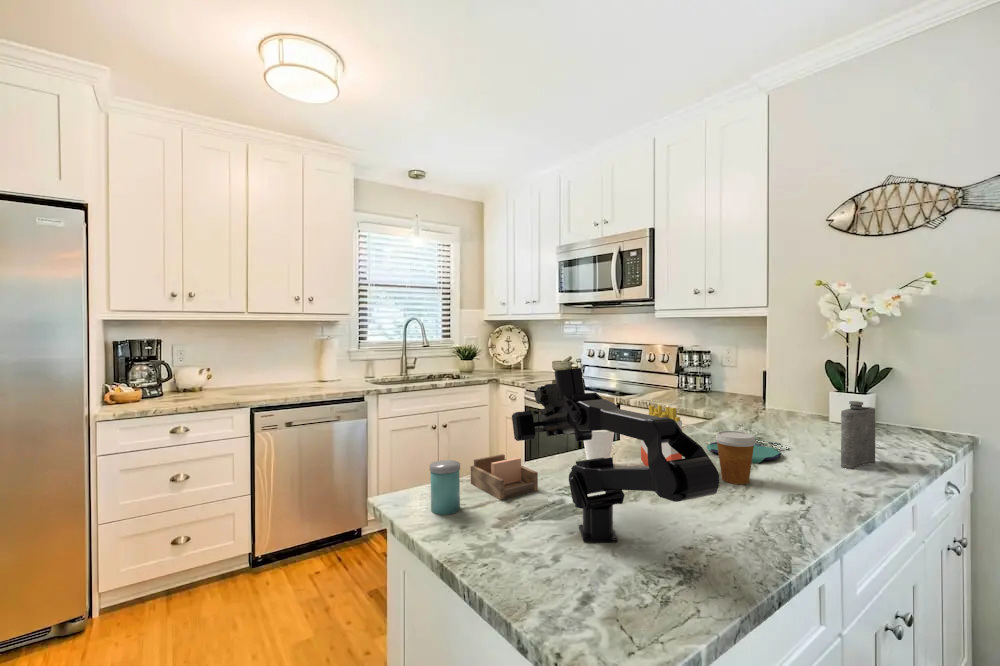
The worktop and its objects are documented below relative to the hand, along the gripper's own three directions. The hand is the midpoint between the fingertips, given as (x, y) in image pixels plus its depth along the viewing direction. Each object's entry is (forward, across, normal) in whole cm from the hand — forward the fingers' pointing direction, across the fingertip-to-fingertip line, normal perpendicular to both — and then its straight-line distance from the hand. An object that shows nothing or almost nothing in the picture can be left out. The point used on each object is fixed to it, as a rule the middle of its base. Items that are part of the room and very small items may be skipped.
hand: (536, 426), depth 115 cm
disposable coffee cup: (-9, -51, +20) cm, 55 cm away
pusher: (+9, +6, +13) cm, 17 cm away
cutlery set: (+9, -79, +15) cm, 81 cm away
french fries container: (+4, -38, +16) cm, 41 cm away
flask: (-13, -93, +21) cm, 97 cm away
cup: (+16, -26, +12) cm, 33 cm away
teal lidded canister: (+4, +23, +16) cm, 28 cm away
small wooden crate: (+12, +6, +13) cm, 19 cm away
